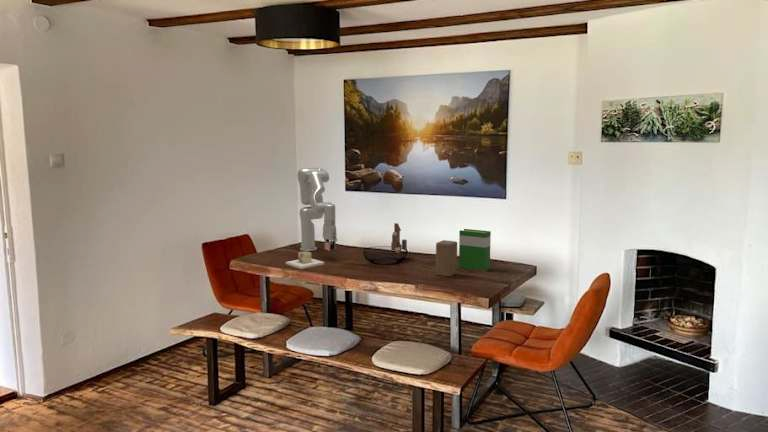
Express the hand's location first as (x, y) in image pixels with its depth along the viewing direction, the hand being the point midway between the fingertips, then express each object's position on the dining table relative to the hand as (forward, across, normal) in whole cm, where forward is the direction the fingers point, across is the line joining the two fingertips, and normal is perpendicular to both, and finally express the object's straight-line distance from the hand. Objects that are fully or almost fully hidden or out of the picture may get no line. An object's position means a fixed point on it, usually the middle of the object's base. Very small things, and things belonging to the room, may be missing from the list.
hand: (330, 248), depth 378 cm
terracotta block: (+1, 0, 0) cm, 1 cm away
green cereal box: (+6, +83, +51) cm, 97 cm away
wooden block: (+6, +81, +27) cm, 85 cm away
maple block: (+6, 0, -20) cm, 21 cm away
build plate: (+7, 0, -20) cm, 22 cm away
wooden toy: (+7, +33, +33) cm, 47 cm away
